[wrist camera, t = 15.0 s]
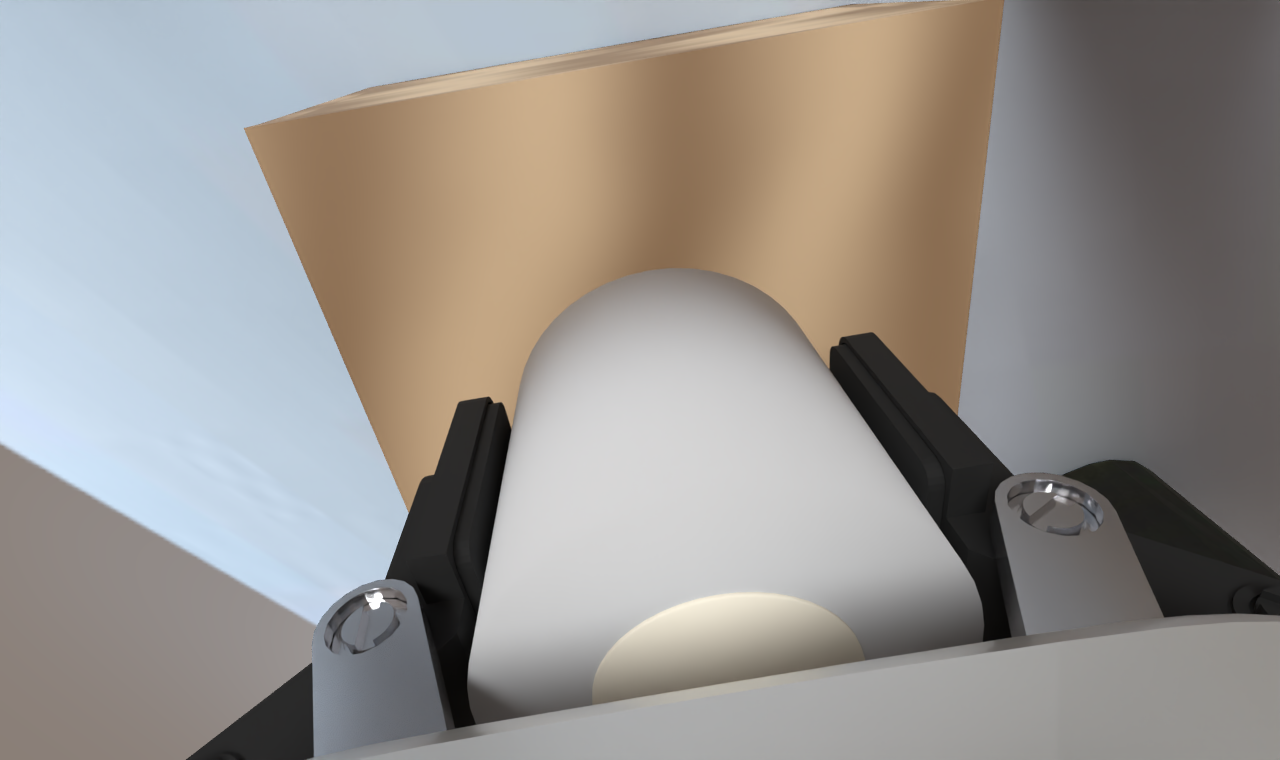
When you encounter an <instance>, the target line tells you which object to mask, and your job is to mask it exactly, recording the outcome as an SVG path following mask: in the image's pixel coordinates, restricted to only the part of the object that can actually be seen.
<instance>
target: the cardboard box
mask: <svg viewBox="0 0 1280 760" xmlns="http://www.w3.org/2000/svg"><path fill="white" fill-rule="evenodd" d="M971 1H977V0H949V1H923V2H898V3H873V4H850V5H845V6H839V7H833V8H827V9H821V10H816V11H810V12H804V13H798V14H793V15H787V16H781V17H775V18H769V19H764V20H758V21H752V22H746V23H740V24H735V25H729V26H723V27H717V28H712V29H706V30H700V31H694V32H688V33H683V34H677V35H671V36H665V37H660V38H654V39H648V40H642V41H636V42H631V43H625V44H619V45H613V46H607V47H602V48H596V49H590V50H584V51H579V52H573V53H567V54H561V55H555V56H550V57H544V58H538V59H532V60H526V61H521V62H515V63H509V64H503V65H498V66H492V67H486V68H480V69H474V70H469V71H463V72H457V73H451V74H446V75H440V76H434V77H428V78H422V79H417V80H411V81H405V82H399V83H393V84H388V85H382V86H376V87H370V88H367V89H364V90H361V91H358V92H355V93H352V94H349V95H346V96H343V97H340V98H337V99H334V100H331V101H328V102H325V103H322V104H319V105H316V106H313V107H310V108H307V109H304V110H301V111H298V112H295V113H292V114H289V115H286V116H283V117H280V118H277V119H274V120H271V121H268V122H265V123H270V122H276V121H281V120H287V119H293V118H299V117H305V116H310V115H316V114H322V113H328V112H334V111H339V110H345V109H351V108H357V107H363V106H368V105H374V104H380V103H386V102H392V101H397V100H403V99H409V98H415V97H421V96H426V95H432V94H438V93H444V92H450V91H455V90H461V89H467V88H473V87H479V86H484V85H490V84H496V83H502V82H508V81H513V80H519V79H525V78H531V77H537V76H542V75H548V74H554V73H560V72H566V71H571V70H577V69H583V68H589V67H594V66H600V65H606V64H612V63H618V62H623V61H629V60H635V59H641V58H647V57H652V56H658V55H664V54H670V53H676V52H681V51H687V50H693V49H699V48H705V47H710V46H716V45H722V44H728V43H734V42H739V41H745V40H751V39H757V38H763V37H768V36H774V35H780V34H786V33H792V32H797V31H803V30H809V29H815V28H821V27H826V26H832V25H838V24H844V23H850V22H855V21H861V20H867V19H873V18H879V17H884V16H890V15H896V14H902V13H908V12H913V11H919V10H925V9H931V8H937V7H942V6H948V5H954V4H960V3H966V2H971ZM262 124H264V123H262Z"/></svg>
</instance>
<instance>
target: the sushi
mask: <svg viewBox="0 0 1280 760" xmlns="http://www.w3.org/2000/svg"><path fill="white" fill-rule="evenodd" d="M1062 476H1064V477H1067V478H1070V479H1074V480H1077V481H1079V482H1081V483H1083V484H1085V485H1087V486H1089V487H1091V488H1093V489H1095V490H1096V491H1098V492H1099V493H1100V494H1101V495H1103V496H1104V497H1105V498H1106V499H1108V500H1109V502H1110V503H1111V505H1112V506H1113V508H1114V509H1115V510H1116V512H1117V514H1118V516H1119V519H1120V521H1121V523H1122V525H1123V528H1124V530H1125V532H1128V533H1131V534H1134V535H1137V536H1141V537H1144V538H1147V539H1150V540H1153V541H1157V542H1160V543H1163V544H1166V545H1169V546H1173V547H1176V548H1179V549H1182V550H1185V551H1189V552H1192V553H1195V554H1198V555H1201V556H1204V557H1208V558H1211V559H1214V560H1217V561H1220V562H1224V563H1227V564H1230V565H1233V566H1236V567H1240V568H1243V569H1246V570H1249V571H1252V572H1256V573H1259V574H1262V575H1265V576H1268V577H1272V578H1275V579H1278V580H1280V576H1279V575H1278V574H1277V573H1276V572H1274V571H1273V570H1272V569H1271V568H1269V567H1268V566H1267V565H1266V564H1265V563H1263V562H1262V561H1261V560H1260V559H1258V558H1257V557H1256V556H1255V555H1253V554H1252V553H1251V552H1250V551H1249V550H1247V549H1246V548H1245V547H1244V546H1242V545H1241V544H1240V543H1239V542H1238V541H1236V540H1235V539H1234V538H1233V537H1231V536H1230V535H1229V534H1228V533H1226V532H1225V531H1224V530H1223V529H1222V528H1220V527H1219V526H1218V525H1217V524H1215V523H1214V522H1213V521H1212V520H1211V519H1209V518H1208V517H1207V516H1206V515H1204V514H1203V513H1202V512H1201V511H1199V510H1198V509H1197V508H1196V507H1195V506H1193V505H1192V504H1191V503H1190V502H1188V501H1187V500H1186V499H1185V498H1183V497H1182V496H1181V495H1180V494H1179V493H1177V492H1176V491H1175V490H1174V489H1172V488H1171V487H1170V486H1169V485H1168V484H1166V483H1165V482H1164V481H1163V480H1161V479H1160V478H1159V477H1158V476H1156V475H1155V474H1154V473H1153V472H1152V471H1150V470H1149V469H1147V468H1146V467H1144V466H1142V465H1140V464H1138V463H1137V462H1135V461H1119V460H1108V461H1103V462H1098V463H1093V464H1089V465H1087V466H1084V467H1082V468H1079V469H1076V470H1074V471H1071V472H1069V473H1066V474H1064V475H1062Z"/></svg>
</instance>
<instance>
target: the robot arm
mask: <svg viewBox="0 0 1280 760" xmlns="http://www.w3.org/2000/svg"><path fill="white" fill-rule="evenodd" d="M829 370H830V371H831V373H832V374H833V376H834V377H835V378H836V380H837V381H838V383H839V384H840V386H841V387H842V389H843V390H844V391H845V393H846V394H847V396H848V397H849V399H850V400H851V402H852V403H853V404H854V406H855V407H856V409H857V410H858V412H859V413H860V415H861V416H862V417H863V419H864V420H865V422H866V423H867V425H868V426H869V428H870V429H871V430H872V432H873V433H874V435H875V436H876V438H877V439H878V441H879V442H880V443H881V445H882V446H883V448H884V449H885V451H886V452H887V454H888V455H889V456H890V458H891V459H892V461H893V462H894V464H895V465H896V467H897V468H898V469H899V471H900V472H901V474H902V475H903V477H904V478H905V480H906V481H907V483H908V484H909V485H910V487H911V488H912V490H913V491H914V493H915V494H916V496H917V497H918V498H919V500H920V501H921V503H922V504H923V506H924V507H925V509H926V510H927V511H928V513H929V514H930V516H931V517H932V519H933V520H934V522H935V523H936V524H937V526H938V527H939V529H940V530H941V532H942V533H943V535H944V536H945V537H946V539H947V540H948V542H949V543H950V545H951V546H952V548H953V549H954V550H955V552H956V553H957V555H958V556H959V558H960V559H961V561H962V562H963V564H964V565H965V567H966V569H967V570H968V572H969V574H970V575H971V577H972V579H973V580H974V582H975V585H976V588H977V591H978V594H979V597H980V600H981V602H982V610H983V619H984V632H983V642H980V643H974V644H967V645H961V646H955V647H948V648H942V649H936V650H929V651H923V652H917V653H910V654H904V655H898V656H891V657H885V658H879V659H872V660H866V661H860V662H853V663H847V664H841V665H834V666H828V667H822V668H816V669H810V670H804V671H798V672H791V673H785V674H779V675H773V676H767V677H761V678H754V679H748V680H742V681H736V682H730V683H724V684H718V685H712V686H705V687H699V688H693V689H687V690H681V691H675V692H669V693H663V694H657V695H651V696H645V697H639V698H633V699H627V700H621V701H615V702H609V703H603V704H597V705H591V706H585V707H579V708H573V709H567V710H562V711H556V712H550V713H544V714H538V715H532V716H526V717H520V718H514V719H508V720H502V721H496V722H491V723H485V724H479V725H476V723H475V720H474V717H473V715H472V712H471V709H470V704H469V697H468V690H467V680H468V667H469V660H470V654H471V649H472V643H473V638H474V632H475V627H476V621H477V616H478V610H479V605H480V599H481V594H482V589H483V583H484V578H485V572H486V567H487V561H488V556H489V550H490V545H491V539H492V534H493V528H494V523H495V518H496V512H497V507H498V501H499V496H500V490H501V485H502V479H503V474H504V468H505V463H506V457H507V452H508V447H509V441H510V436H511V430H512V429H511V426H510V423H509V419H508V416H507V413H506V410H505V407H504V405H503V403H502V402H498V403H493V401H492V399H491V398H490V397H489V396H488V397H482V398H476V399H470V400H464V401H460V402H459V403H458V404H457V407H456V410H455V413H454V416H453V419H452V422H451V425H450V428H449V431H448V434H447V437H446V440H445V443H444V446H443V449H442V452H441V455H440V458H439V461H438V464H437V467H436V471H435V474H434V475H429V476H425V477H424V478H422V480H421V482H420V484H419V486H418V489H417V492H416V495H415V497H414V500H413V503H412V506H411V509H410V511H409V514H408V517H407V520H406V523H405V525H404V528H403V531H402V534H401V537H400V539H399V542H398V545H397V548H396V551H395V553H394V556H393V559H392V562H391V564H390V567H389V570H388V573H387V576H386V578H385V580H377V581H374V582H371V583H368V584H365V585H362V586H360V587H358V588H356V589H354V590H353V591H351V592H349V593H347V594H346V595H344V596H343V597H342V598H341V599H339V600H338V601H337V602H336V603H334V604H333V605H332V606H331V607H330V608H329V610H328V611H327V612H326V613H325V614H324V615H323V616H322V618H321V620H320V622H319V623H318V625H317V627H316V629H315V631H314V637H313V641H312V663H311V664H309V665H308V666H307V667H306V668H304V669H303V670H302V671H300V672H299V673H298V674H297V675H295V676H294V677H293V678H291V679H290V680H289V681H288V682H286V683H285V684H283V685H282V686H281V687H280V688H278V689H277V690H276V691H274V693H272V694H271V695H269V696H268V697H267V698H265V699H264V700H263V701H262V702H260V703H259V704H258V705H257V706H255V707H254V708H253V709H251V710H250V711H249V712H247V713H246V714H245V715H243V716H242V717H241V718H239V719H238V720H237V721H236V722H234V723H233V724H232V725H230V726H229V727H228V728H227V729H225V730H224V731H223V732H221V733H220V734H219V735H217V736H216V737H215V738H213V739H212V740H211V741H210V742H208V743H207V744H206V745H205V746H203V747H202V748H201V749H199V750H198V751H197V752H196V753H194V754H193V755H191V756H190V757H189V758H188V759H186V760H1280V580H1278V579H1275V578H1272V577H1268V576H1265V575H1262V574H1259V573H1256V572H1252V571H1249V570H1246V569H1243V568H1240V567H1236V566H1233V565H1230V564H1227V563H1224V562H1220V561H1217V560H1214V559H1211V558H1208V557H1204V556H1201V555H1198V554H1195V553H1192V552H1189V551H1185V550H1182V549H1179V548H1176V547H1173V546H1169V545H1166V544H1163V543H1160V542H1157V541H1153V540H1150V539H1147V538H1144V537H1141V536H1137V535H1134V534H1131V533H1128V532H1125V530H1124V528H1123V525H1122V523H1121V521H1120V519H1119V516H1118V514H1117V512H1116V510H1115V509H1114V508H1113V506H1112V505H1111V503H1110V502H1109V500H1108V499H1106V498H1105V497H1104V496H1103V495H1101V494H1100V493H1099V492H1098V491H1096V490H1095V489H1093V488H1091V487H1089V486H1087V485H1085V484H1083V483H1081V482H1079V481H1077V480H1074V479H1070V478H1067V477H1064V476H1061V475H1055V474H1048V473H1024V474H1019V475H1015V476H1014V475H1013V474H1012V473H1011V472H1010V471H1009V470H1008V469H1007V468H1006V467H1005V466H1004V465H1003V464H1002V462H1001V461H1000V460H999V459H998V458H997V457H996V456H995V455H994V454H993V453H992V452H991V451H990V450H989V449H988V448H987V446H986V445H985V444H984V443H983V442H982V441H981V440H980V439H979V438H978V437H977V436H976V435H975V434H974V433H973V432H972V430H971V429H970V428H969V427H968V426H967V425H966V424H965V423H964V422H963V421H962V420H961V419H960V418H959V417H958V416H957V414H956V413H955V412H954V411H953V410H952V409H951V408H950V407H949V406H948V405H947V404H946V403H945V402H944V401H943V400H942V398H941V397H939V396H938V395H937V394H936V393H933V392H928V391H927V390H926V389H925V388H924V386H923V385H922V384H921V383H920V382H919V381H918V380H917V379H916V378H915V377H914V376H913V375H912V373H911V372H910V371H909V370H908V369H907V368H906V367H905V366H904V365H903V364H902V363H901V361H900V360H899V359H898V358H897V357H896V356H895V355H894V354H893V353H892V352H891V351H890V349H889V348H888V347H887V346H886V345H885V344H884V343H883V342H882V341H881V340H880V339H879V338H878V336H877V335H876V334H874V333H873V332H869V333H863V334H857V335H851V336H845V337H841V338H840V340H839V345H837V346H832V347H831V349H830V363H829Z"/></svg>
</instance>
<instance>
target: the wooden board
mask: <svg viewBox="0 0 1280 760" xmlns="http://www.w3.org/2000/svg"><path fill="white" fill-rule="evenodd" d="M1003 6H1004V0H977V1H971V2H966V3H960V4H954V5H948V6H942V7H937V8H931V9H925V10H919V11H913V12H908V13H902V14H896V15H890V16H884V17H879V18H873V19H867V20H861V21H855V22H850V23H844V24H838V25H832V26H826V27H821V28H815V29H809V30H803V31H797V32H792V33H786V34H780V35H774V36H768V37H763V38H757V39H751V40H745V41H739V42H734V43H728V44H722V45H716V46H710V47H705V48H699V49H693V50H687V51H681V52H676V53H670V54H664V55H658V56H652V57H647V58H641V59H635V60H629V61H623V62H618V63H612V64H606V65H600V66H594V67H589V68H583V69H577V70H571V71H566V72H560V73H554V74H548V75H542V76H537V77H531V78H525V79H519V80H513V81H508V82H502V83H496V84H490V85H484V86H479V87H473V88H467V89H461V90H455V91H450V92H444V93H438V94H432V95H426V96H421V97H415V98H409V99H403V100H397V101H392V102H386V103H380V104H374V105H368V106H363V107H357V108H351V109H345V110H339V111H334V112H328V113H322V114H316V115H310V116H305V117H299V118H293V119H287V120H281V121H276V122H270V123H264V124H259V125H255V126H251V127H247V128H244V130H245V132H246V134H247V137H248V139H249V141H250V144H251V146H252V148H253V151H254V153H255V155H256V158H257V160H258V162H259V165H260V167H261V169H262V172H263V174H264V176H265V179H266V181H267V183H268V186H269V188H270V190H271V193H272V195H273V197H274V200H275V202H276V204H277V207H278V209H279V211H280V214H281V216H282V218H283V221H284V223H285V225H286V228H287V230H288V232H289V235H290V237H291V239H292V242H293V244H294V246H295V249H296V251H297V253H298V256H299V258H300V260H301V263H302V265H303V267H304V270H305V272H306V274H307V277H308V279H309V281H310V284H311V286H312V288H313V291H314V293H315V295H316V298H317V300H318V302H319V305H320V307H321V309H322V312H323V314H324V316H325V319H326V321H327V323H328V326H329V328H330V330H331V333H332V335H333V337H334V340H335V342H336V344H337V347H338V349H339V351H340V354H341V356H342V358H343V361H344V363H345V365H346V368H347V370H348V372H349V375H350V377H351V379H352V382H353V384H354V386H355V388H356V391H357V393H358V395H359V398H360V400H361V402H362V405H363V407H364V409H365V412H366V414H367V416H368V419H369V421H370V423H371V426H372V428H373V430H374V433H375V435H376V437H377V440H378V442H379V444H380V447H381V449H382V451H383V454H384V456H385V458H386V461H387V463H388V465H389V468H390V470H391V472H392V475H393V477H394V479H395V482H396V484H397V486H398V489H399V491H400V493H401V496H402V498H403V500H404V503H405V505H406V507H407V510H408V512H409V511H410V509H411V506H412V503H413V500H414V497H415V495H416V492H417V489H418V486H419V484H420V482H421V480H422V478H424V477H425V476H429V475H434V474H435V471H436V467H437V464H438V461H439V458H440V455H441V452H442V449H443V446H444V443H445V440H446V437H447V434H448V431H449V428H450V425H451V422H452V419H453V416H454V413H455V410H456V407H457V404H458V403H459V402H460V401H464V400H470V399H476V398H482V397H488V396H489V397H490V398H491V399H492V401H493V403H498V402H502V403H503V405H504V407H505V410H506V413H507V416H508V419H509V423H510V426H511V429H512V425H513V419H514V414H515V408H516V403H517V397H518V392H519V386H520V382H521V378H522V375H523V371H524V367H525V365H526V363H527V360H528V358H529V356H530V353H531V351H532V349H533V348H534V346H535V345H536V343H537V341H538V340H539V338H540V337H541V335H542V334H543V332H544V331H545V330H546V329H547V328H548V326H549V325H550V324H551V323H552V322H553V320H554V319H555V318H556V317H558V316H559V315H560V314H561V313H562V312H563V311H564V310H565V309H566V308H567V307H568V306H570V305H571V304H572V303H574V302H575V301H577V300H578V299H580V298H581V297H582V296H584V295H585V294H587V293H589V292H590V291H592V290H594V289H596V288H598V287H600V286H602V285H604V284H606V283H608V282H611V281H614V280H616V279H619V278H622V277H625V276H627V275H632V274H636V273H640V272H644V271H649V270H658V269H667V268H689V269H699V270H706V271H713V272H717V273H721V274H724V275H727V276H731V277H734V278H737V279H739V280H741V281H744V282H746V283H748V284H750V285H753V286H754V287H756V288H758V289H759V290H761V291H763V292H764V293H766V294H767V295H769V296H770V297H772V298H773V299H774V300H775V301H776V302H778V303H779V304H780V305H781V306H782V307H783V308H785V310H786V311H787V312H788V313H789V314H790V315H791V316H792V318H793V319H794V320H795V321H796V322H797V324H798V325H799V326H800V328H801V329H802V331H803V332H804V334H805V335H806V337H807V338H808V339H809V341H810V342H811V344H812V345H813V347H814V348H815V350H816V351H817V352H818V354H819V355H820V357H821V358H822V360H823V361H824V363H825V364H826V365H827V367H828V368H829V363H830V349H831V347H832V346H837V345H839V340H840V338H841V337H845V336H851V335H857V334H863V333H869V332H873V333H874V334H876V335H877V336H878V338H879V339H880V340H881V341H882V342H883V343H884V344H885V345H886V346H887V347H888V348H889V349H890V351H891V352H892V353H893V354H894V355H895V356H896V357H897V358H898V359H899V360H900V361H901V363H902V364H903V365H904V366H905V367H906V368H907V369H908V370H909V371H910V372H911V373H912V375H913V376H914V377H915V378H916V379H917V380H918V381H919V382H920V383H921V384H922V385H923V386H924V388H925V389H926V390H927V391H928V392H933V393H936V394H937V395H938V396H939V397H941V398H942V400H943V401H944V402H945V403H946V404H947V405H948V406H949V407H950V408H951V409H952V410H953V411H954V412H955V413H956V414H957V416H958V407H959V398H960V389H961V380H962V371H963V362H964V353H965V344H966V335H967V327H968V318H969V309H970V300H971V291H972V282H973V273H974V264H975V255H976V246H977V238H978V229H979V220H980V211H981V202H982V193H983V184H984V175H985V166H986V157H987V149H988V140H989V131H990V122H991V113H992V104H993V95H994V86H995V77H996V68H997V59H998V51H999V42H1000V33H1001V24H1002V15H1003Z"/></svg>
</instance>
